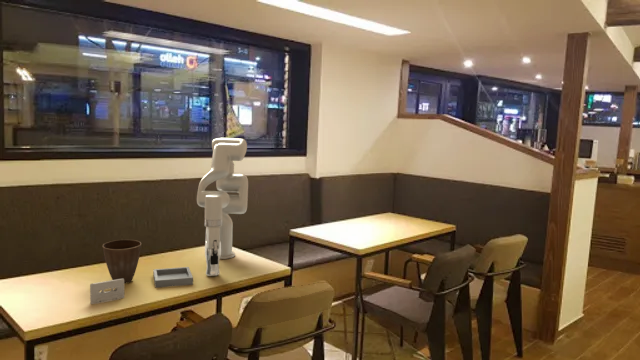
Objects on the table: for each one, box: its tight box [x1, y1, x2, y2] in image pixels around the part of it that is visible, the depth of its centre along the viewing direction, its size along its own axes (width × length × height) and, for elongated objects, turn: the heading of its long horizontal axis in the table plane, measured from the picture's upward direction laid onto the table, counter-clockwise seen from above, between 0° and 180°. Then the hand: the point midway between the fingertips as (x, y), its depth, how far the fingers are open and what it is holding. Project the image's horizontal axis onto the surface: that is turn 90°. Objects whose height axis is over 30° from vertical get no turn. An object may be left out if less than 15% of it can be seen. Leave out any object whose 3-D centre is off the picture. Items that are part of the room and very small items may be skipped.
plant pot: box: [102, 239, 142, 285], centre depth 200 cm, size 15×15×16 cm
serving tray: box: [152, 266, 194, 289], centre depth 205 cm, size 15×15×3 cm
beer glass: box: [204, 241, 221, 277], centre depth 212 cm, size 7×7×15 cm
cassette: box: [89, 278, 125, 305], centre depth 180 cm, size 12×2×8 cm, turn 129°
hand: (212, 261), depth 212 cm, fingers closed on beer glass, 6 cm apart
